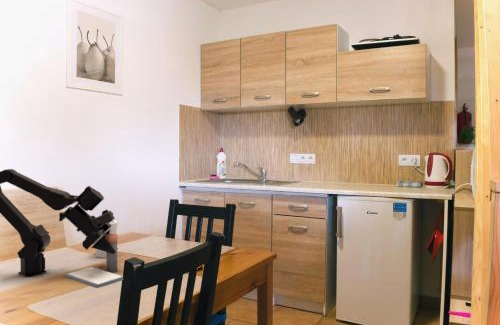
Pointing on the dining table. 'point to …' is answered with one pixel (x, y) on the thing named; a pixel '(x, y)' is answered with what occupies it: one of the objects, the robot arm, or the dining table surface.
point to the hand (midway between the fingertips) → (115, 251)
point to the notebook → (94, 277)
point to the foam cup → (113, 231)
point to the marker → (111, 258)
